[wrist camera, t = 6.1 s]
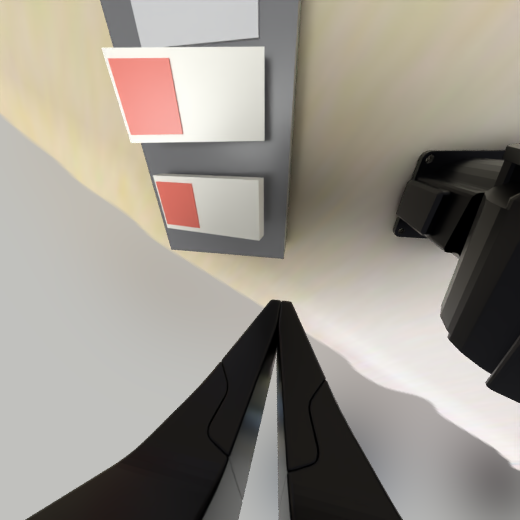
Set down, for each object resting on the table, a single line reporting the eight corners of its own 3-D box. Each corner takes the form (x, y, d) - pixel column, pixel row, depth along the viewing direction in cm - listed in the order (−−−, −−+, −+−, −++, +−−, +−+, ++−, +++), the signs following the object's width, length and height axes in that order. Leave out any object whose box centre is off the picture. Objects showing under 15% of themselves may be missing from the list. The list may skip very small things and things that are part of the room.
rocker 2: (263, 177, 12) (257, 180, 12) (263, 235, 15) (259, 241, 14) (163, 173, 15) (151, 175, 14) (175, 223, 17) (166, 228, 16)
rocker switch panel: (309, -128, 9) (312, -263, 6) (285, 243, 20) (282, 263, 17) (113, -82, 11) (37, -170, 8) (186, 236, 22) (166, 253, 18)
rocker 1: (263, 54, 11) (264, 45, 10) (263, 140, 13) (264, 140, 12) (113, 55, 10) (100, 46, 9) (139, 142, 12) (129, 143, 12)
